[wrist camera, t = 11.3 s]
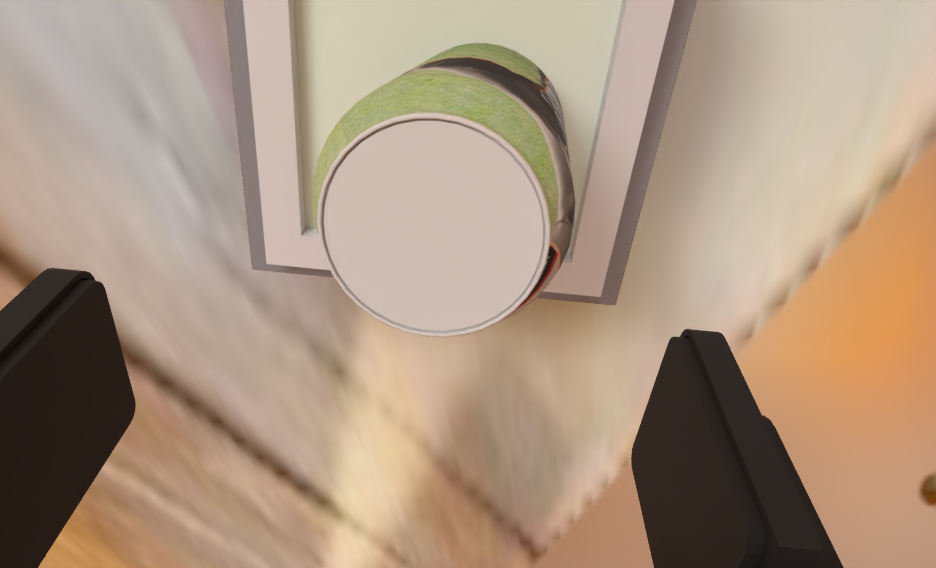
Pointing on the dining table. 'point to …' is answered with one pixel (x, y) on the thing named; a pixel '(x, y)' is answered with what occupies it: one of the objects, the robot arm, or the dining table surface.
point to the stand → (413, 42)
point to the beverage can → (448, 193)
